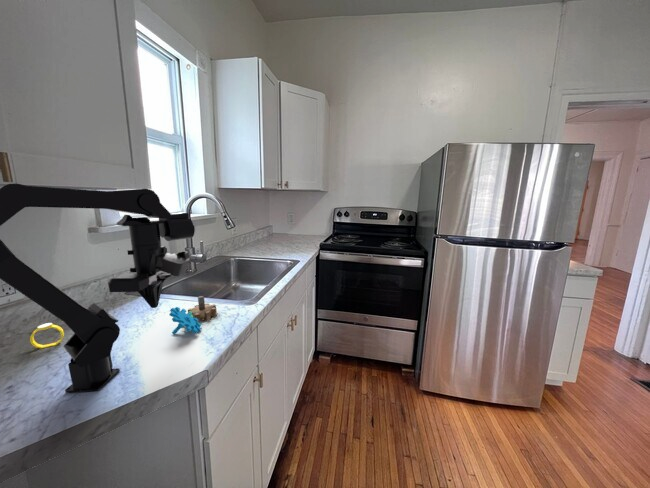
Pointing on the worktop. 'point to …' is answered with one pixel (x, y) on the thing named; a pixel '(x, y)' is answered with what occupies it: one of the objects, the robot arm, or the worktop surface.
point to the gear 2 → (203, 310)
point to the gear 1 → (184, 320)
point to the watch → (43, 327)
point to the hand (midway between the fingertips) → (154, 307)
